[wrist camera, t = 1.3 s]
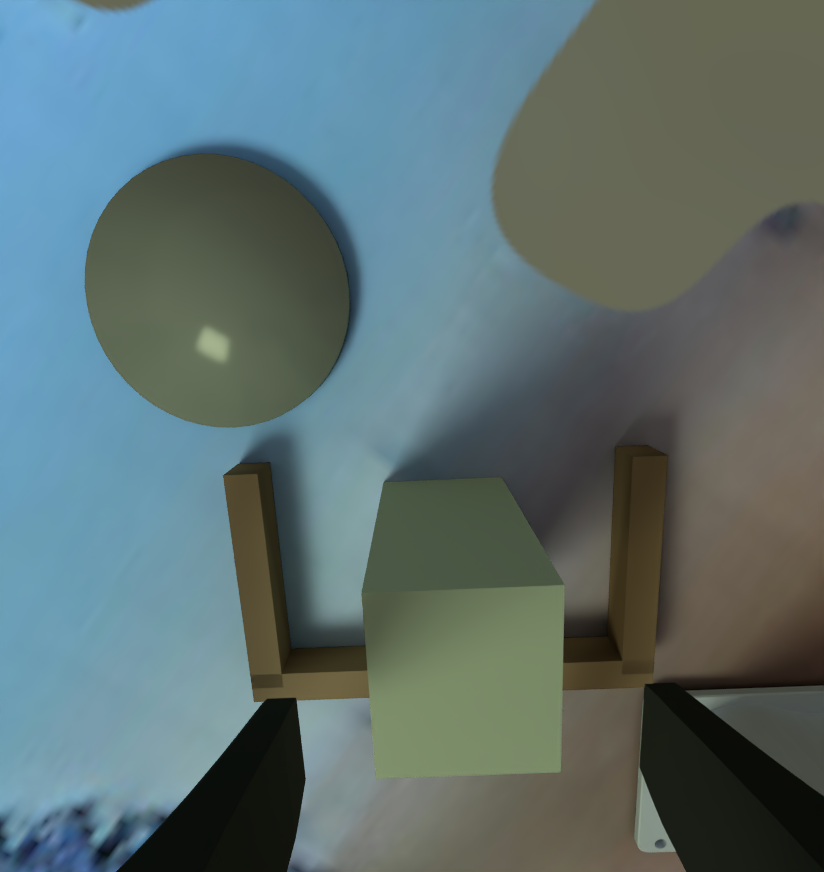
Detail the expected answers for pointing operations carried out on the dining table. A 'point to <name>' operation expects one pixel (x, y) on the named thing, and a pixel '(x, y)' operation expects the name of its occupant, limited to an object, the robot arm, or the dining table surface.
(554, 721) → the block
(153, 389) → the olive flat disc
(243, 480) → the brown u-shaped frame
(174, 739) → the dining table surface
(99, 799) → the dining table surface
